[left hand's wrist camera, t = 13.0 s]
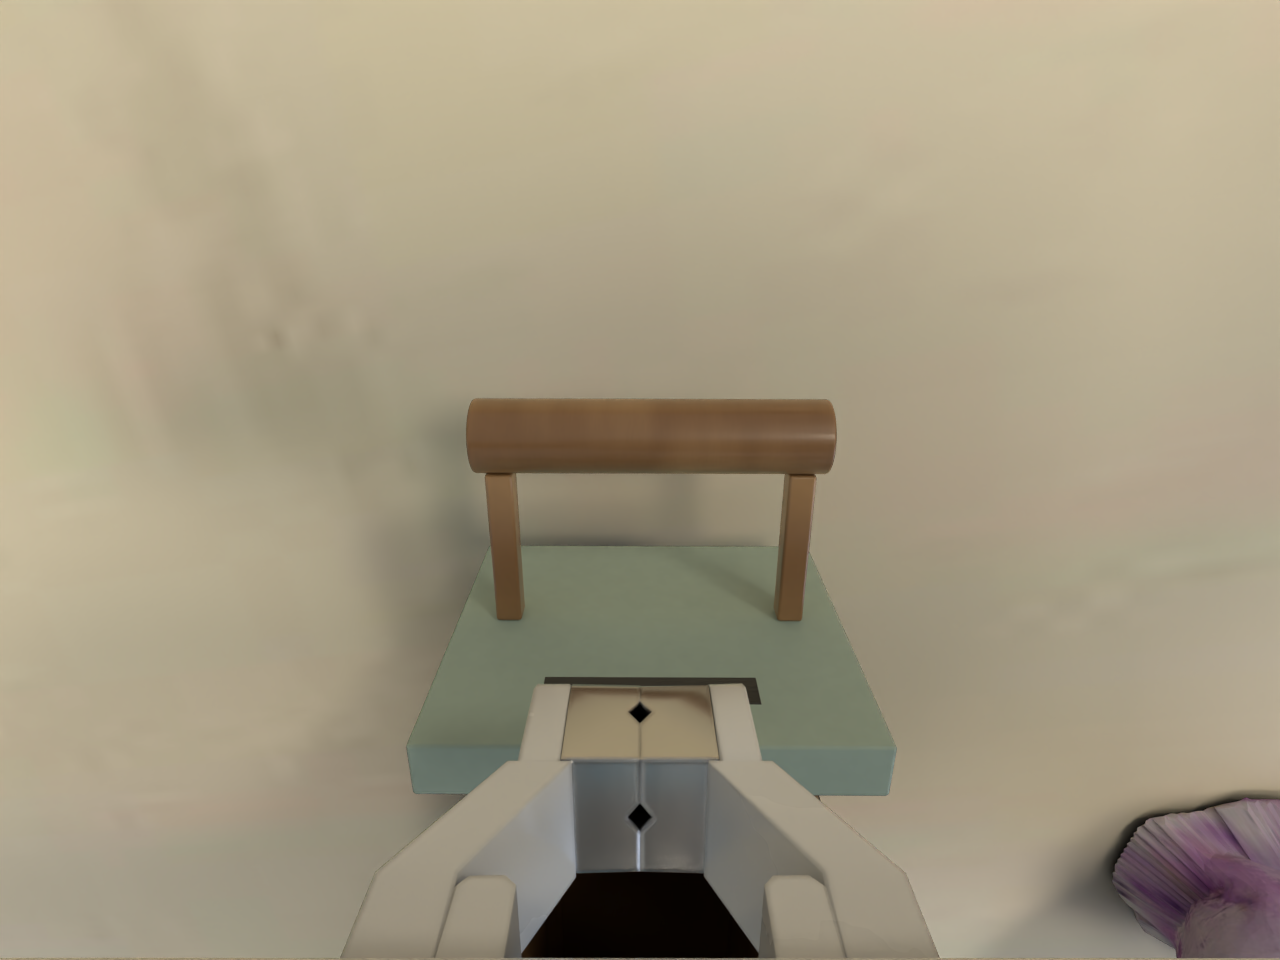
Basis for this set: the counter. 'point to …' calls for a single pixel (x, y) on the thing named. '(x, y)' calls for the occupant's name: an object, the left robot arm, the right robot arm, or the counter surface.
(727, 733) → the left robot arm
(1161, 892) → the figurine
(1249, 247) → the counter surface
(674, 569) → the drawer
